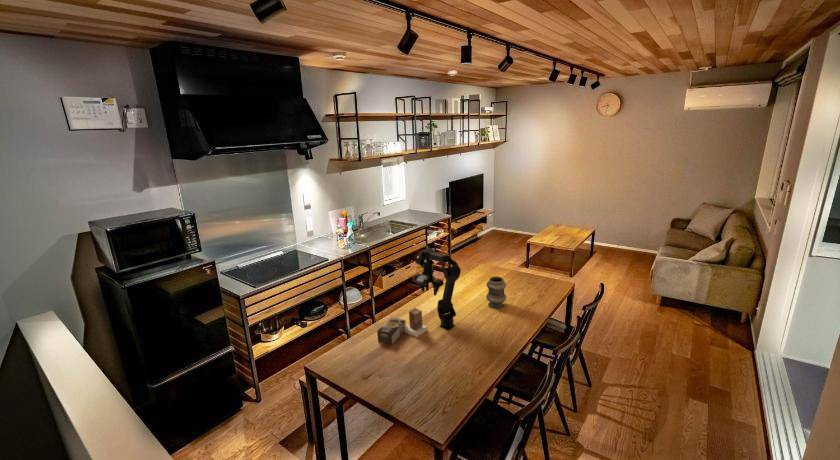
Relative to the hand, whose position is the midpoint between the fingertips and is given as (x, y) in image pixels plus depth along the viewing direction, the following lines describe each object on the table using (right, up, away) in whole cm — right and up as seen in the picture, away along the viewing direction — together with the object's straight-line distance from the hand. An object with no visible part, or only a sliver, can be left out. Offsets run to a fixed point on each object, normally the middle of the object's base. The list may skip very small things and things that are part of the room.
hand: (429, 293), depth 230 cm
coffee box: (-17, -15, -12) cm, 26 cm away
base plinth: (-8, -18, -15) cm, 25 cm away
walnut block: (-8, -16, -16) cm, 24 cm away
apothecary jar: (+42, -9, +9) cm, 44 cm away
